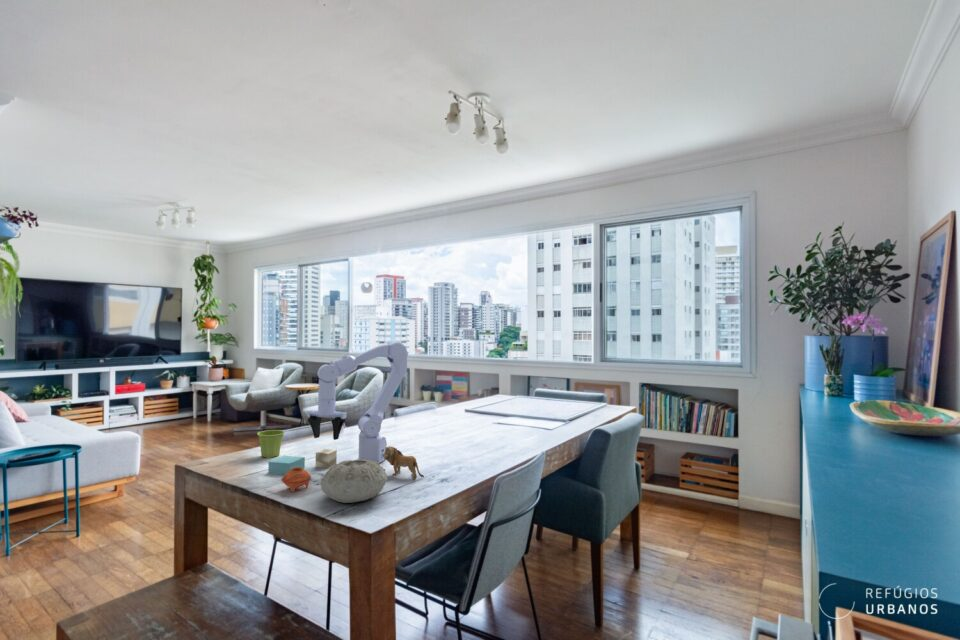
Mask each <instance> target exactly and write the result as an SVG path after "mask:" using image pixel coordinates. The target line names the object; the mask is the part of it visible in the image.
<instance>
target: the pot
mask: <svg viewBox="0 0 960 640" xmlns="http://www.w3.org/2000/svg"><path fill="white" fill-rule="evenodd" d="M311 478H312V476H311V474H310V473H309V472H308V471H307V470H306V469H305V468H304V469H303V468H301V467H294V468H292V469H290V470H289V471H288V472H287V473H286V474H285V475H284V474H283V476H282V478H281V482H282V483H283V484H284V485H285V486H287V487H289V489H290V491H291V493H294V492H295V489H298V488H301V487H303V486H305V489H308V488H309V484H310V480H311Z"/></svg>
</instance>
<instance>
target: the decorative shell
mask: <svg viewBox="0 0 960 640" xmlns="http://www.w3.org/2000/svg"><path fill="white" fill-rule="evenodd" d="M387 480H388V476H387V472H386V468H384V467H383V466H382V465H381V464H380V463H376V462H374V461H371V460H367V459H359V460H356V459H354V460H351V459H350V460H343V461H340V462H338V463H336V464H335V465H334V466H332V467H330V468H328V470H327V471H326V472H325V474H324V475H323V477H322V479H321V481H320V482H321V483H320V485H321V486H320V487H321V491H322V492H323V493H324V494H325V495H326V496H327V497H328V498H330V499H332V500H334V501H335V502H338V503H343V504H352V503H357V502H364V501H368V500H370V499H372V498H374V497H376V496H378V495H379V494H380V493H381V492H382V490H383V488H384V486H385V485H386V483H387Z"/></svg>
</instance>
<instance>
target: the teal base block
mask: <svg viewBox="0 0 960 640" xmlns="http://www.w3.org/2000/svg"><path fill="white" fill-rule="evenodd" d="M305 459H306V458H305V457H304V456H295V455H283V456H279V457H277V458H275V459H272V460H270V461H268V469H267V470H268V472H267V473H268V474H274V475H283V476H284V475H285V474H286V473H287V472H288V471H289V470H290V469H292V468H294V467H301V468H303V469H304V470H305V467H306V466H305V465H306V464H305V461H306V460H305Z"/></svg>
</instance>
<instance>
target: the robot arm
mask: <svg viewBox="0 0 960 640" xmlns="http://www.w3.org/2000/svg"><path fill="white" fill-rule="evenodd" d="M408 355H409V352H408V350H407V348H406V346H405V344H404V343H402V342H400V341H398V342H394V341H389V342H386V343H383V344H379V345H377V346H375V347H372V348H371V349H368V350H366V351H364V352H362V353H360V354H358V355H355V356H353V355H351V354H348V355H346V354H344V355H342V357H341V358H338V359H336V360H334V361H333V360H330V361H329V364H322V365H321V366H320V367H319V368H318V371H317V372H316V375H317V377H318V396H317V399H318V402H317V410H307V411H306V416H307V417H308V418H307V422H308V424H309V425H310V427H311V430H312V433H313V438H314V439H319V438H320V435H321V423H322V419H323V418H329V419H331V421H330V422H331V424H332V438H333V440H334V441H335V440H338V439H339V437H340V433H341V430H342V428H343V426H344V423H345V422H346V419H347V416H348V415H347V413H348V412H344V411H338V410H337V411H336V393H337V392H336V391H337V390H336V388H337V387H336V379H337V378H339V377H341V376H342V377H343V376H345V375H347V374H349V373H351V372H354V371H356V370H357V368H358V366H359V365H361V364H364V363H366V362H369V361H371V360H373V359H376V358H386V359H387V360H388V362H389V365H390V367H391V371H390V372H389V374H388V376H387V378H386V379H385V381H384V383H383V385H382V387H381V388H380V390H379V392H378V393H377V396H376V398H375V399H374V402H373V403H372V405H371V406H370V407H369V409H367V410H366V411H365V414H363V415H362V416H361V417H360V418H359V420H358V421H357V427H358V429H359V432H360V433H359V434H358V458H356V459H355V460H359V459H367V460H371V461H374V462H376V463H379V464H380V463H382V462H384V461H385V460H384V457H383V454H384V453H385V448H386V447H388V446H387V445H388V443H387V439H386V437H385V436H381V435H380V432H381V428H382V423H383V421H384V416H385V412H386V410H387V408H388V407H389V406H390V405H389V404H390V403H391V401H392V399H393V397H394V395H395V393H396V392H397V390H398V387H400V384H401V382H402V381H403V379H404V377H405V375H406V373H407V371H408Z"/></svg>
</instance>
